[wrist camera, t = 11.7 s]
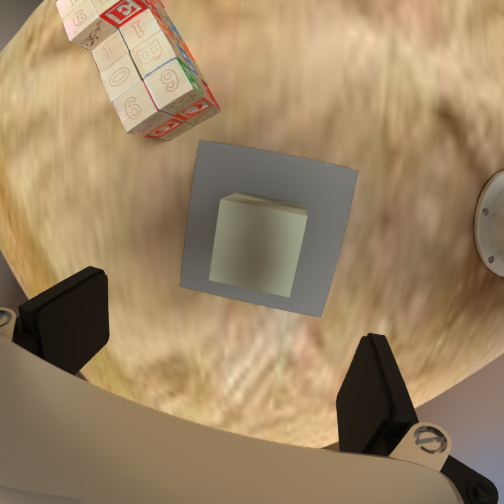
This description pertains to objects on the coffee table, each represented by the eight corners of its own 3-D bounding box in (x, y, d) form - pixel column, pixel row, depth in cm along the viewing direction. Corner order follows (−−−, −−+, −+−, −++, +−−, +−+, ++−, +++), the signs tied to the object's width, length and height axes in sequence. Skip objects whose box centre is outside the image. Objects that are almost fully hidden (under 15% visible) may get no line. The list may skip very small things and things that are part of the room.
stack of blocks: (223, 110, 28) (179, 79, 16) (170, 141, 30) (101, 133, 18) (148, -21, 24) (98, -71, 12) (106, 7, 26) (46, -30, 14)
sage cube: (304, 205, 26) (307, 216, 21) (290, 270, 28) (289, 297, 22) (236, 192, 27) (220, 199, 21) (226, 257, 29) (208, 280, 23)
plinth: (352, 170, 28) (358, 170, 25) (319, 304, 32) (321, 317, 29) (208, 142, 29) (199, 140, 26) (189, 276, 33) (179, 286, 30)
